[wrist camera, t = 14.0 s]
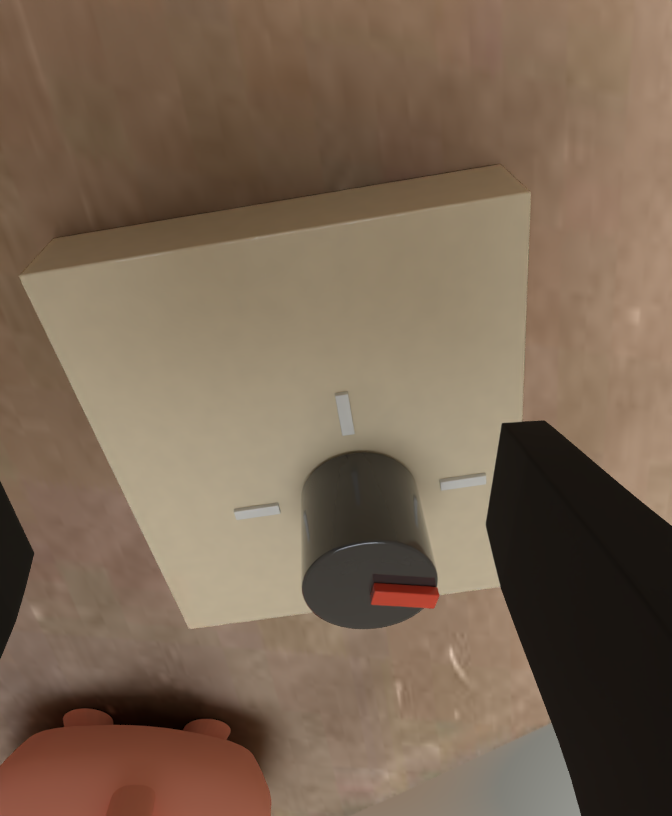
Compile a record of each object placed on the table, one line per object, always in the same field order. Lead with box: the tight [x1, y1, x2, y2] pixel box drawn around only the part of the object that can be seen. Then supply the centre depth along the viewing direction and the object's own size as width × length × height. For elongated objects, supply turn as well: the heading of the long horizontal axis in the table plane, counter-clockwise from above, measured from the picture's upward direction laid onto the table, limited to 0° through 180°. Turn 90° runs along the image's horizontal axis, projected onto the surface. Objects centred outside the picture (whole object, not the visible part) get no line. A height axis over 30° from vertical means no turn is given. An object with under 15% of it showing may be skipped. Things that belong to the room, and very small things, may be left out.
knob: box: [301, 452, 439, 629], centre depth 17 cm, size 4×4×4 cm
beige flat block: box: [19, 164, 531, 629], centre depth 19 cm, size 14×12×3 cm
